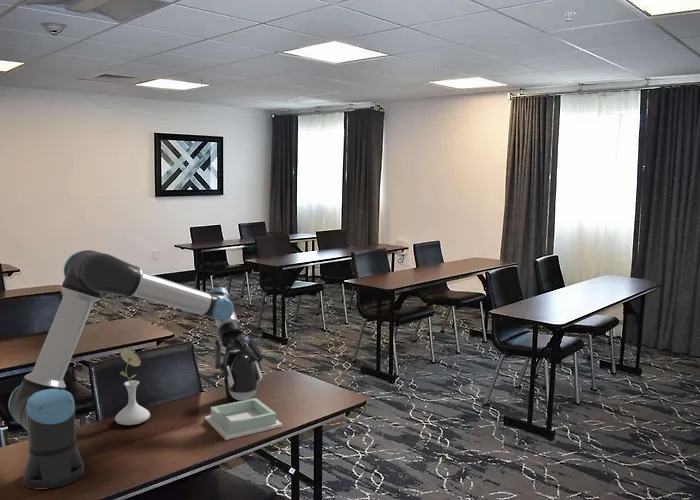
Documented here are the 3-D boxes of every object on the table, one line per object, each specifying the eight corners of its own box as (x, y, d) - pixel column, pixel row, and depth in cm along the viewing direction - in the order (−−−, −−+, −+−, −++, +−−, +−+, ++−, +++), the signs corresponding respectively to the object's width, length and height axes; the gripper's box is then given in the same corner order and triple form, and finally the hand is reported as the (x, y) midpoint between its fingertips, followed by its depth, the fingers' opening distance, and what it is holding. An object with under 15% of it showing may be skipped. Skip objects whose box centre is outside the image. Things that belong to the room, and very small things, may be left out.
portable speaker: (250, 401, 220) (249, 351, 218) (225, 403, 218) (224, 352, 215) (248, 393, 228) (247, 344, 226) (224, 395, 226) (223, 346, 224)
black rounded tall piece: (252, 404, 193) (251, 359, 191) (223, 401, 195) (222, 357, 193) (262, 393, 203) (262, 351, 201) (235, 391, 205) (234, 349, 203)
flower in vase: (156, 421, 200) (154, 351, 198) (123, 431, 192) (121, 357, 190) (139, 411, 210) (137, 343, 207) (107, 420, 202) (104, 349, 199)
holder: (225, 440, 186) (225, 426, 186) (205, 419, 203) (205, 406, 202) (282, 426, 197) (282, 413, 196) (258, 407, 214) (258, 395, 213)
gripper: (254, 328, 216) (273, 381, 204) (195, 336, 204) (212, 393, 192) (260, 317, 211) (279, 371, 199) (200, 324, 199) (217, 382, 187)
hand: (246, 382), depth 196 cm, fingers closed on black rounded tall piece, 9 cm apart
